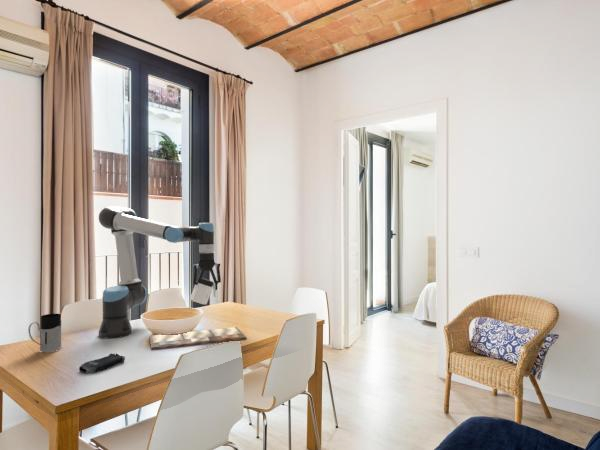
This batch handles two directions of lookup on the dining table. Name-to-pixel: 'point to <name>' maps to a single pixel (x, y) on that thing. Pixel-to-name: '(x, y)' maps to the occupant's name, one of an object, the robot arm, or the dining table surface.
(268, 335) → the dining table surface
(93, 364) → the electronic device
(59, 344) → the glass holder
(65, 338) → the dining table surface
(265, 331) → the dining table surface
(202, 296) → the jar
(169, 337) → the board
